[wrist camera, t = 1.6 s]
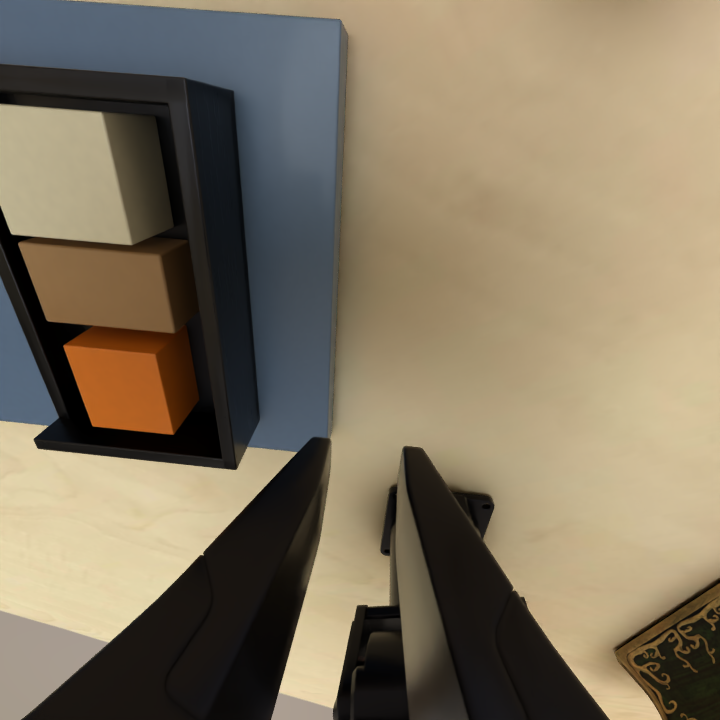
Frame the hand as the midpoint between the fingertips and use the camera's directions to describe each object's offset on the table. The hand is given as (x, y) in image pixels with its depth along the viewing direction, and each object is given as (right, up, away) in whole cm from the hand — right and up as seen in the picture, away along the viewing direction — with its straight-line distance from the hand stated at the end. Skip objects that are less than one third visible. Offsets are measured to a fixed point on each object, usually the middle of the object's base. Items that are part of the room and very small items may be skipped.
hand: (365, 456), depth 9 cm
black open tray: (-9, +5, +8) cm, 13 cm away
